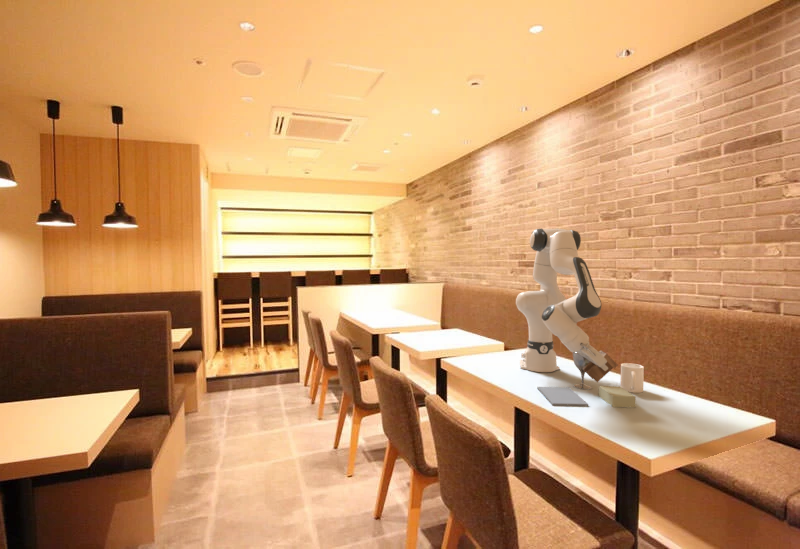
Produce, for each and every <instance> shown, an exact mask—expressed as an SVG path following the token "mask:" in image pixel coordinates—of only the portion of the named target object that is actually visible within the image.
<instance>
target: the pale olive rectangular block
mask: <svg viewBox="0 0 800 549" xmlns="http://www.w3.org/2000/svg"><path fill="white" fill-rule="evenodd" d="M598 397H599V398H601V399H602V400H603V401H604V402H606V403H607V404H608V405H610V406H611V407H614V408H636V398H637V396H635V395H634V394H633V393H631V392H628V391H626V390H624V389H623V388H621V386H617V385H616V386H615V385H613V386H610V385H607V386H606V385H599V386H598Z"/></svg>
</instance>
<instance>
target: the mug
mask: <svg viewBox="0 0 800 549" xmlns="http://www.w3.org/2000/svg"><path fill="white" fill-rule="evenodd" d="M644 367H645V366H643V365H641V364H637V363H629V362H625V363H620V386H619V387H621V388H623V389H624V390H626V391H628V392H629V393H631V394H633V393H634V394H641V393H643V391H644V383H645V382H644V380H645V379H644V376H645V374H644V372H645V371H644V370H645V368H644Z"/></svg>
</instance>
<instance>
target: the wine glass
mask: <svg viewBox="0 0 800 549" xmlns="http://www.w3.org/2000/svg"><path fill="white" fill-rule="evenodd" d="M572 358H573V359H572V360H573V363H574V365H575V367H576V368H577V369H578V371H579V372H580V375H581V377H580V378H581V383H576V384H573V387H574V388H576V389H580V390H591V389H592V388H593V387H592V386H590V385H588V384H585V383H584V379H585V374H586V372H585V371H584V370H583V368H584V367H585V366H586V365H587V364H588V363H589V362H590V361H589V360H588V359H586V358H585V357H583V356H582V355H580V354H579V353H576V352H572Z"/></svg>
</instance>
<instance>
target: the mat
mask: <svg viewBox="0 0 800 549" xmlns="http://www.w3.org/2000/svg"><path fill="white" fill-rule="evenodd" d="M537 390H538V391H539V392H540V393H541V394H542V396H543V397H544V398H545V399H546V401H548V402H549V403H550V405H552V406H554V407H555V406H557V407H558V406H561V407H562V406H564V407H565V406H566V407H589V403H588V402H586V400H584V399H583V398H582V397H581V396H580V395H579V394H578V393H577V392H575V391H574V390H573V389H572V388H571V387H568V386H567V387H565V386H537Z"/></svg>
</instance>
